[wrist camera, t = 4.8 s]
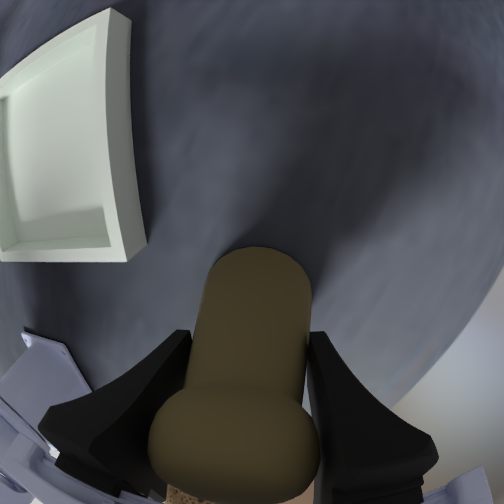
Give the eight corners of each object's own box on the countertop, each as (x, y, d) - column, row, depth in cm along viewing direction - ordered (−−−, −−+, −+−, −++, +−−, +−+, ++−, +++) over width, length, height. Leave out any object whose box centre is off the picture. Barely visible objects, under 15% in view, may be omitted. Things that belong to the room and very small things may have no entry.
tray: (147, 244, 15) (127, 261, 12) (19, 250, 16) (1, 261, 14) (131, 20, 10) (110, 7, 7) (2, 95, 11) (-18, 96, 9)
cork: (310, 336, 16) (323, 515, 6) (213, 338, 16) (162, 502, 6) (312, 243, 13) (364, 463, 3) (196, 249, 14) (77, 430, 4)
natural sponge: (170, 448, 25) (149, 513, 16) (243, 462, 25) (232, 531, 15) (178, 470, 29) (163, 522, 19) (238, 481, 28) (229, 536, 19)
